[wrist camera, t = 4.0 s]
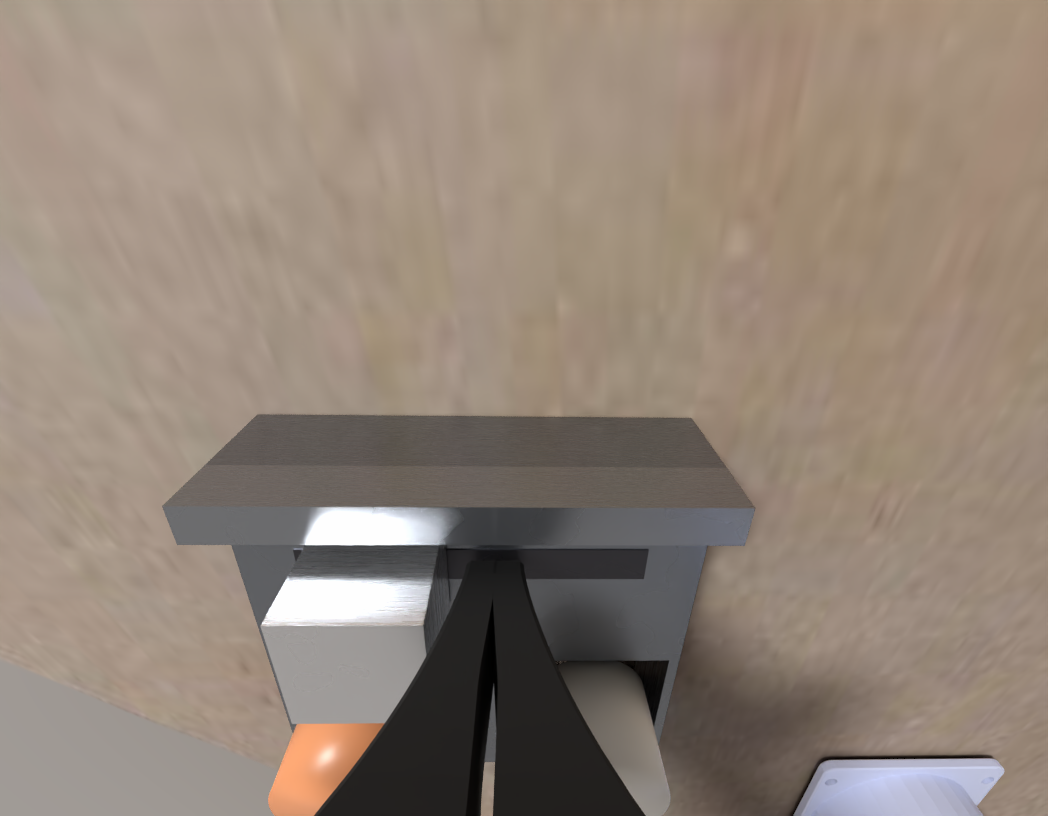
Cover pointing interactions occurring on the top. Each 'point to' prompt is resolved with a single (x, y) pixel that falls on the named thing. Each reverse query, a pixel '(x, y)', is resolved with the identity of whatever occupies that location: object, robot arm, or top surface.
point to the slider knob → (355, 628)
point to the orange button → (317, 765)
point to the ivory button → (621, 727)
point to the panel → (489, 516)
